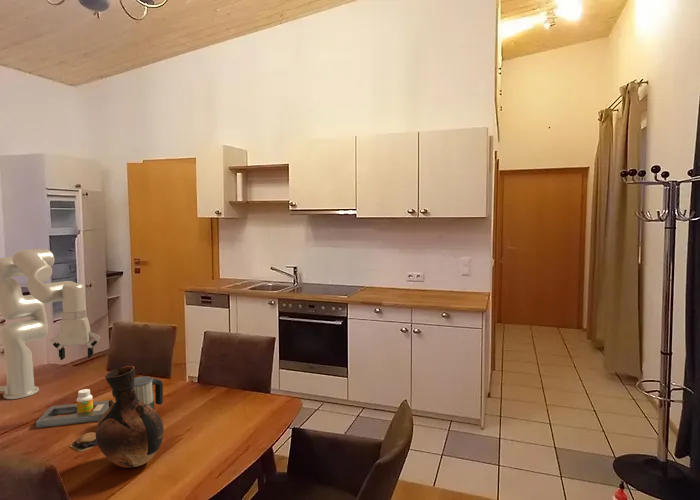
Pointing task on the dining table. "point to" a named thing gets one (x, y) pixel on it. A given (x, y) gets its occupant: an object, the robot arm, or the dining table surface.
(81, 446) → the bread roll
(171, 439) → the dining table surface
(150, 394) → the milk frother
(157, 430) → the ceramic vessel
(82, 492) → the dining table surface
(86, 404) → the supplement bottle
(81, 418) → the grey rectangular frame
